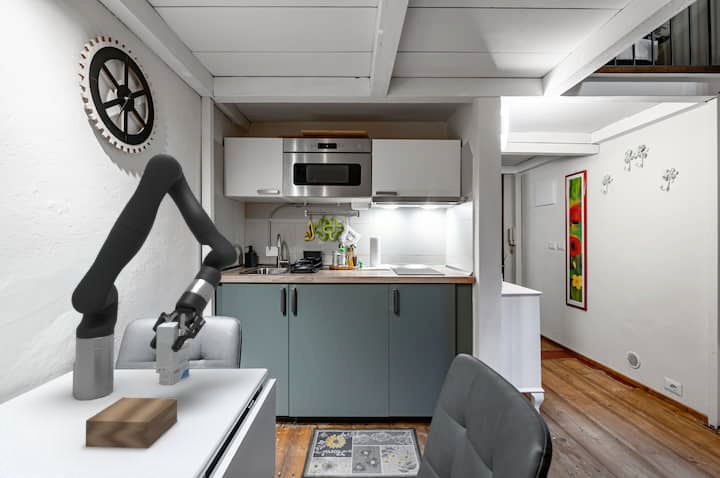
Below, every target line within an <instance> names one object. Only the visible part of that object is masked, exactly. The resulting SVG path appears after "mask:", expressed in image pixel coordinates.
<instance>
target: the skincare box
mask: <svg viewBox="0 0 720 478" xmlns="http://www.w3.org/2000/svg"><path fill="white" fill-rule="evenodd" d="M178 336H180V329H179V327H178V322H166V323H163V324H160V325H159V326H158V327H157V348H156V349H155V351H156V352H155V353H156V354H155V355H156V356H155V357H156V358H155V360H156V361H155V373H156V374H159V373H172V372H174V371H175V370H176V368H177V367H178V366H179V351H178V352H174V351H173V350H172V349H171V347H172V345H173V344H174V342H175V341H176V339H177V337H178Z"/></svg>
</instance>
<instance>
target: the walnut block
mask: <svg viewBox="0 0 720 478" xmlns="http://www.w3.org/2000/svg"><path fill="white" fill-rule="evenodd" d="M177 422H178V398H161V397H160V398H158V397H157V398H156V397H153V398H152V397H121V398H120V399H118V400H116V401H115V402H114V403H112V404H110V405H108V406H107V407H105V408H104V409H102V410H101V411H99V412H97V413H96V414H94V415H92V416H91V417H88V419H86V420H85V447H86V448H88V447H90V448H91V447H92V448H93V447H94V448H121V449H123V448H124V449H127V448H128V449H149V448H150V447H152V446H153V445H154V444H155V443H156V442H157V441H158V440H159V439H160V438H161V437H162V436H163V435H165V433H167V432H168V431H169V430H170V429H171V428H172V427H173V426H174V425H175V424H176V423H177Z"/></svg>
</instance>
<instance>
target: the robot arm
mask: <svg viewBox="0 0 720 478" xmlns="http://www.w3.org/2000/svg"><path fill="white" fill-rule="evenodd" d="M166 195H169V197H170V198H171V199H172V201H173V203H174V204H175V206H176V207H177V209H178V211H179V212H180V214H181V216H182V218H183V220H184V222H185V224H186V226H187V228H188V229H189V230H190V232H191V234H192V235H193V236H194V238H195V240H196V241H197V242H198V244H199V245H201V246H208V247H209V248H211V250H210V251H209V252H208V253H207V254H206V255H205V257H204V259H203V261H202V264H201V266H200V269H199V271H198V272H197V273H196V275H195V277H193V280H192V281H191V282H190V283H189V284H188V286H186V288H185V289H184V292H182V294H181V295H180V297H179V299H178V300H177V301H176V303H175V308H174V310H173V311H172V312H171V313H166V312H165V311H163V312H161V313H160V315H159V317H158V318H157V320H156V321H155V323H154V325H153V327H152V329H151V330H152V331H153V332H154V333H155V335H154V337H153V338H152V339H151V341H150V343H149V347H150V348H151V349H152V350H156V348H157V327H158V326H159V325H160V324H163V323H166V322H178V327H179V336H178V337H177V339H176V341H175V342H174V344H173V345H172V347H171V349H172V350H173V351H174V352H178V351H179V350H180V349H181V347H182V346H183V344H184V342H185V341H189V339H192V340H195V338H196V337H197V336H198V334H199V333H200V331H201V330H202V329H203V327H204V326H205V324H206V320H205V318H204V317H203V316H202V314H203V313H204V311H205V309H206V307H207V306H208V305H209V303H210V301H211V299H212V297H213V295H214V293H215V291H216V289H217V288H218V286H219V284H220V282H221V280H222V273H221V272H222V271H223V270H224V269H225V268H228V267H231V266H233V265H234V264H236V262H237V260H238V252H237V249H236V248H235V246H234V245H233V244H232V242H230V241H229V240H228V238H227V237H226V236H224V235H223V234H222V233H221V232H220V231H219V230H218V229H217V227H216V225H215V223H214V222H213V220H212V219H211V217H210V216H209V214H208V213H207V211H206V210H205V208H204V207H203V206H202V205H201V203H200V201H199V200H198V199H197V198H196V196H195V194H194V193H193V191H192V189H191V187H190V185H189V184H188V181H187V178H186V176H185V174H184V171H183V167H182V165H181V164H180V162H179V161H178V160H177V159H176V158H175V157H174V156H172V155H171V154H168V153H167V154H166V153H159V154H155V155H154V156H152V157H150V159H149V160H148V162H146V165H145V168H144V170H143V172H142V174H141V178H140V179H139V182H138V185H137V187H136V188H135V191H134V193H133V194H132V195H131V197H130V198H129V200H128V201H127V203H126V204H125V206H124V207H123V209H122V210H121V212H120V214H119V215H118V217H117V219H116V220H115V222H114V224H113V226H111V227H112V228H111V229H110V231H109V233H108V234H107V236H106V238H105V240H104V242H103V244H102V246H101V248H100V249H99V251H98V253H97V256H96V257H95V259H94V261H93V262H92V264H91V266H90V268H89V269H88V270H87V271H86V273H85V274H84V276H83V277H82V278H81V280H80V281H79V282H78V284H77V285H76V287H75V288H74V290H73V291H72V294H71V297H70V300H71V301H70V302H71V305H72V308H73V309H74V310H75V311H76V312H77V313H79V314H81V315H82V317H81V320H80V323H78V325H77V327H76V328H75V361H74V362H73V363H72V396H73V397H74V398H75V399H76V400H79V401H82V400H83V401H85V400H93V399H99V398H102V397H105V396H108V395H109V394H111V393H112V392H113V391H114V379H115V377H114V374H115V369H114V368H115V367H114V366H115V328H116V324H117V322H118V313H119V291H118V288H117V286H116V285H115V282H116V281H117V278H118V277H119V275H120V274H121V272H122V271H123V270H124V268H125V267H127V265H128V264H129V263H130V262H131V261H132V259H134V258H135V257H136V255H137V254H138V253H139V251H140V250H141V249H142V248H143V246H144V244H145V242H146V241H147V240H148V237H149V235H150V234H151V231H152V228H153V226H154V224H155V221H156V218H157V215H158V211H159V208H160V205H161V203H162V201H163V200H164V198H165V197H166Z"/></svg>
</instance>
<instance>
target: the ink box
mask: <svg viewBox="0 0 720 478" xmlns="http://www.w3.org/2000/svg"><path fill="white" fill-rule="evenodd" d="M190 352H191V341H190V340H186V341H185V342H184V344H183V346H182V347H181V349H180V350H179V366H178V367H177V368H176V370H175V371H174V372H172V373H158V374H159V377H158V378H159V379H158V380H159V381H158V384H161V385H166V384H170V385H169V386H173V385H175V384H176V383H178V382H180V381H181V379H182V380H183V378H184V379H186V378H187V377H189V376H190ZM185 377H186V378H185ZM179 380H180V381H179ZM174 383H175V384H174ZM172 384H173V385H172Z"/></svg>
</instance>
